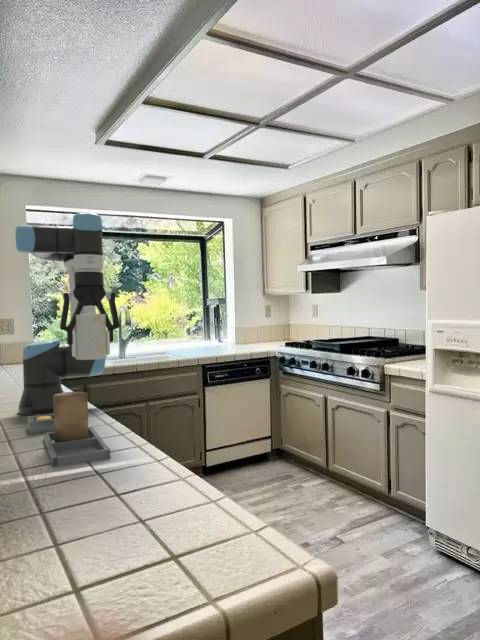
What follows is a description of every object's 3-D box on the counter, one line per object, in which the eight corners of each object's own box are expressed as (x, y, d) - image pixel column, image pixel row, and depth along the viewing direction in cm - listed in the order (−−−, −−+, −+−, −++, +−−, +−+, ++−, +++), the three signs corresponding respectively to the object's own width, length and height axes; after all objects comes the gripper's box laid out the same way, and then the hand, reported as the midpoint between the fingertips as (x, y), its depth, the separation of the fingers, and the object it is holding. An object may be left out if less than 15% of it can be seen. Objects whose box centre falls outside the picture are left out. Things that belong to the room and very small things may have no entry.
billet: (53, 440, 120) (51, 393, 120) (85, 436, 124) (84, 390, 123) (56, 449, 113) (55, 399, 113) (91, 444, 117) (89, 395, 116)
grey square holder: (27, 430, 133) (27, 416, 133) (58, 427, 137) (57, 413, 137) (29, 437, 126) (29, 422, 126) (61, 433, 130) (61, 419, 130)
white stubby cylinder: (97, 359, 125) (96, 314, 124) (69, 359, 126) (68, 314, 126) (112, 356, 133) (110, 313, 132) (85, 356, 134) (84, 314, 134)
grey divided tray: (44, 443, 121) (43, 433, 121) (92, 436, 126) (92, 426, 126) (52, 470, 100) (52, 458, 100) (110, 461, 106) (110, 449, 106)
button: (36, 427, 133) (35, 417, 132) (51, 426, 134) (51, 415, 134) (37, 431, 129) (36, 420, 129) (52, 429, 131) (52, 418, 131)
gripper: (48, 269, 121) (51, 359, 121) (130, 271, 130) (132, 354, 131) (46, 272, 127) (48, 356, 128) (124, 273, 137) (126, 351, 137)
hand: (91, 355), depth 129 cm, fingers closed on white stubby cylinder, 8 cm apart
